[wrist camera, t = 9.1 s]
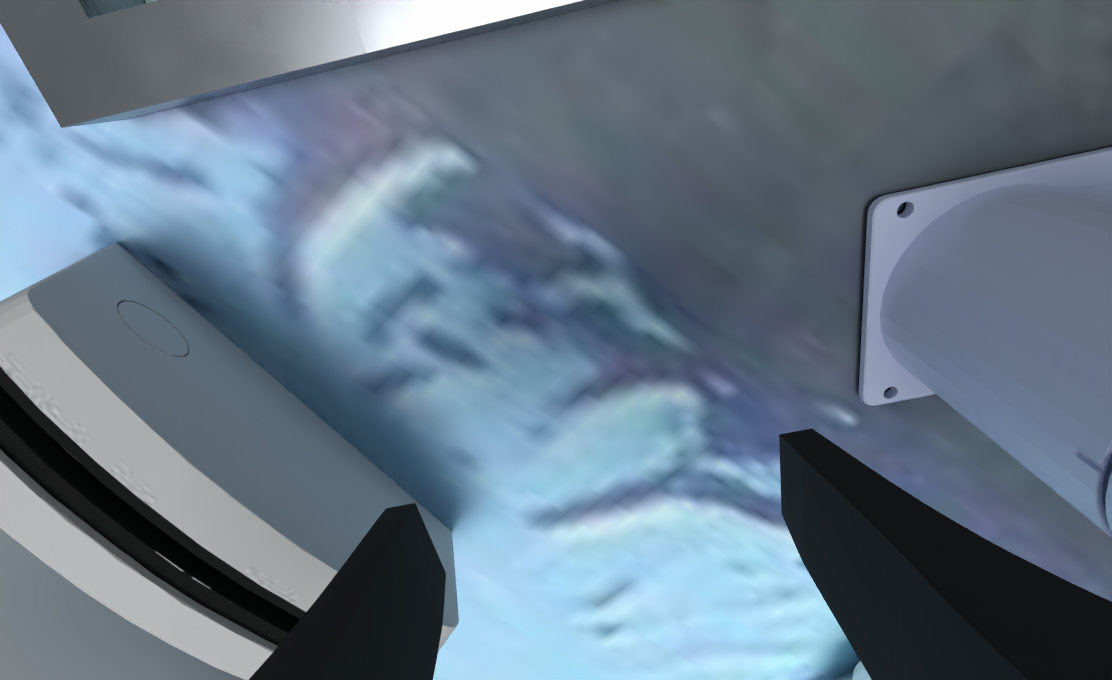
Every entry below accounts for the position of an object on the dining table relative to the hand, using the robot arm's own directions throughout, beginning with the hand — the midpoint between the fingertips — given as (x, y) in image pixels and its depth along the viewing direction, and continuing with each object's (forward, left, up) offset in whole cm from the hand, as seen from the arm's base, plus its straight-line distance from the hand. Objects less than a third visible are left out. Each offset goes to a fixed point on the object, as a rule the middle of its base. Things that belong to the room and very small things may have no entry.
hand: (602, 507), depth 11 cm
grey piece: (+12, +2, -10) cm, 15 cm away
